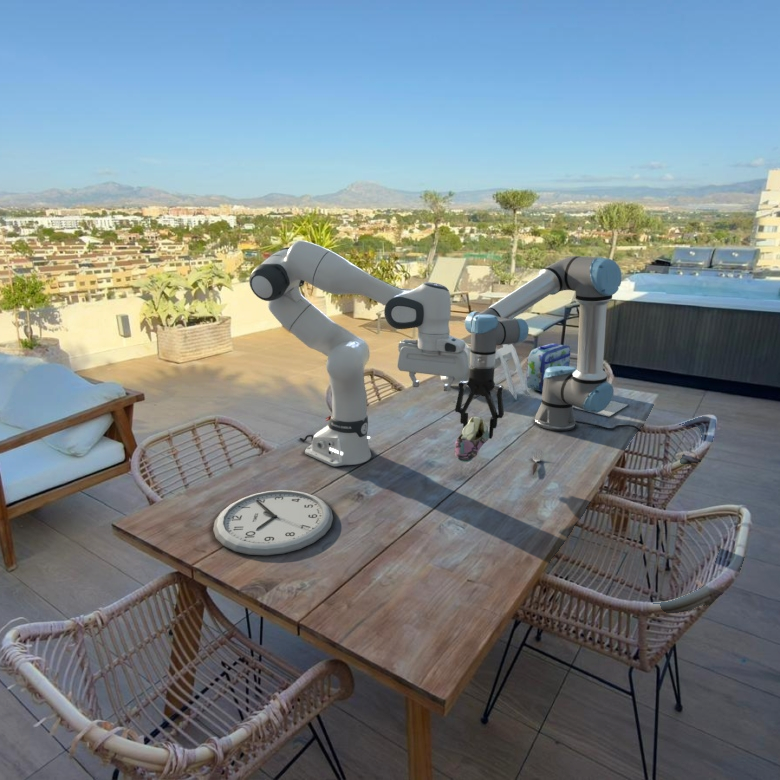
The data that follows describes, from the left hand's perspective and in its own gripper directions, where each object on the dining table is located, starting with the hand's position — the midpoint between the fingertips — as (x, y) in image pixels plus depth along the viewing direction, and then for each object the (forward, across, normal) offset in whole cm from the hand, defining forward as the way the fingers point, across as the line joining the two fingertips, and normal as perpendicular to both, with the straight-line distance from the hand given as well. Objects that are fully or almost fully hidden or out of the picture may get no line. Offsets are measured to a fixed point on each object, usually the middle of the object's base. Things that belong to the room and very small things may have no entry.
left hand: (431, 388), depth 151 cm
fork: (+28, +29, +22) cm, 47 cm away
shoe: (+19, +12, +7) cm, 23 cm away
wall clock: (+28, -29, -39) cm, 56 cm away
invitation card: (+28, +48, +94) cm, 110 cm away
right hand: (+18, +11, +16) cm, 27 cm away
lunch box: (+29, +23, +114) cm, 120 cm away
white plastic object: (+29, -5, +92) cm, 97 cm away
